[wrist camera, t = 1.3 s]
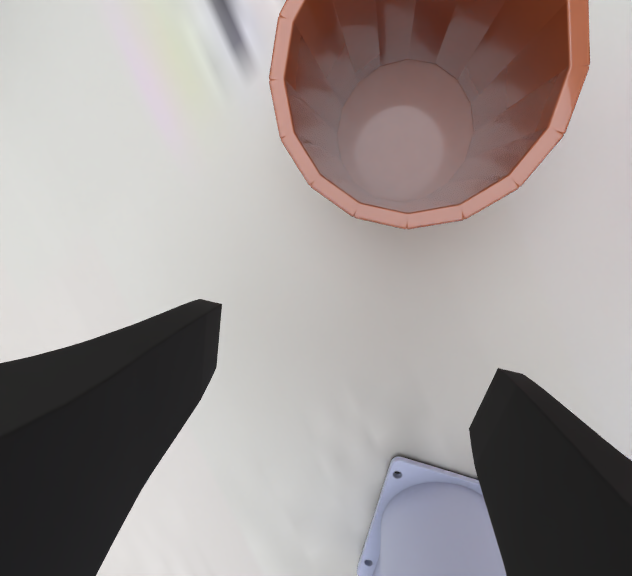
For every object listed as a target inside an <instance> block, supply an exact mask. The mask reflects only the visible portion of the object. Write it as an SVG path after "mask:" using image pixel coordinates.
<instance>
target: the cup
mask: <svg viewBox="0 0 632 576" xmlns="http://www.w3.org/2000/svg"><path fill="white" fill-rule="evenodd" d="M589 64H590V46H589V5H588V0H286V2H285V4H284V6H283V8H282V10H281V12H280V14H279V17H278V22H277V28H276V35H275V42H274V48H273V55H272V61H271V68H270V75H269V80H270V81H269V85H270V90H271V95H272V100H273V105H274V110H275V115H276V120H277V126H278V131H279V136H280V138H281V141H282V143H283V145H284V146H285V148H286V149H287V151H288V153H289V154H290V156H291V157H292V159H293V161H294V162H295V164H296V165H297V167H298V169H299V170H300V172H301V173H302V175H303V177H304V178H305V180H306V181H307V183H308V185H310V186H311V188H313V189H314V190H315V191H317V192H318V193H320V194H321V195H322V196H324V197H325V198H327V199H328V200H329V201H331V202H332V203H334V204H335V205H336V206H338V207H339V208H340V209H342V210H343V211H345V212H346V213H347V214H349V215H350V216H352V217H354V218H357V219H361V220H366V221H370V222H375V223H379V224H384V225H388V226H392V227H397V228H401V229H414V228H420V227H426V226H432V225H438V224H444V223H450V222H456V221H462V220H464V219H467V218H469V217H471V216H472V215H474V214H476V213H478V212H479V211H481V210H483V209H484V208H486V207H488V206H490V205H491V204H493V203H495V202H496V201H498V200H500V199H502V198H503V197H505V196H507V195H509V194H510V193H512V192H514V191H515V190H517V189H518V188H519V187H521V186H522V185H523V183H524V182H525V181H526V180H527V179H528V178H529V176H530V175H531V174H532V173H533V172H534V170H535V169H536V168H537V167H538V166H539V165H540V163H541V162H542V161H543V160H544V159H545V157H546V156H547V155H548V154H549V153H550V151H551V150H552V149H553V148H554V147H555V146H556V144H557V143H558V142H559V141H560V140H561V138H562V137H563V134H564V133H565V132H566V130H567V127H568V124H569V121H570V119H571V116H572V113H573V111H574V108H575V105H576V102H577V100H578V97H579V94H580V92H581V89H582V86H583V83H584V81H585V78H586V75H587V73H588V70H589Z"/></svg>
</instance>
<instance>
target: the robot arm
mask: <svg viewBox="0 0 632 576" xmlns="http://www.w3.org/2000/svg"><path fill="white" fill-rule="evenodd" d="M221 309H222V304H219V303H215V302H210V301H206V300H202V299H198V300H195V301H192V302H189V303H186V304H184V305H181V306H179V307H176V308H174V309H171V310H169V311H166V312H164V313H161V314H159V315H156V316H154V317H151V318H149V319H146V320H144V321H141V322H139V323H136V324H134V325H131V326H128V327H125V328H123V329H120V330H117V331H114V332H111V333H108V334H106V335H103V336H100V337H97V338H94V339H91V340H88V341H85V342H82V343H79V344H75V345H72V346H69V347H65V348H62V349H58V350H54V351H51V352H47V353H43V354H39V355H36V356H32V357H28V358H23V359H19V360H14V361H9V362H4V363H0V576H96V574H97V572H98V570H99V568H100V567H101V565H102V563H103V561H104V559H105V557H106V555H107V553H108V551H109V549H110V547H111V545H112V543H113V541H114V540H115V538H116V536H117V534H118V532H119V530H120V528H121V526H122V525H123V523H124V521H125V519H126V517H127V515H128V513H129V512H130V510H131V508H132V506H133V504H134V502H135V501H136V499H137V497H138V495H139V493H140V491H141V490H142V488H143V487H144V485H145V483H146V482H147V480H148V478H149V477H150V475H151V474H152V472H153V471H154V469H155V468H156V466H157V465H158V463H159V462H160V460H161V459H162V457H163V456H164V454H165V453H166V451H167V450H168V448H169V447H170V445H171V444H172V442H173V441H174V439H175V438H176V436H177V435H178V433H179V432H180V430H181V429H182V427H183V426H184V424H185V423H186V421H187V420H188V418H189V417H190V415H191V414H192V412H193V411H194V409H195V408H196V406H197V404H198V403H199V401H200V400H201V398H202V396H203V394H204V392H205V390H206V388H207V386H208V384H209V382H210V380H211V378H212V376H213V374H214V371H215V369H216V365H217V354H218V343H219V332H220V320H221ZM469 431H470V439H471V446H472V453H473V459H474V465H475V469H476V473H477V476H478V480H476V479H473V478H470V477H466V476H463V475H460V474H456V473H453V472H450V471H447V470H443V469H440V468H437V467H433V466H430V465H427V464H423V463H420V462H417V461H413V460H410V459H407V458H404V457H395V458H393V459H392V461H391V463H390V466H389V469H388V472H387V476H386V479H385V482H384V485H383V488H382V491H381V494H380V498H379V501H378V504H377V507H376V510H375V513H374V516H373V520H372V523H371V526H370V529H369V532H368V535H367V538H366V542H365V545H364V548H363V551H362V554H361V557H360V560H359V564H358V567H357V574H358V576H632V461H631V460H629V459H628V458H627V457H626V456H624V455H623V454H622V453H621V452H619V451H618V450H617V449H616V448H614V447H613V446H612V445H611V444H609V443H608V442H607V441H606V440H604V439H603V438H602V437H601V436H599V435H598V434H597V433H596V432H595V431H593V430H592V429H591V428H590V427H589V426H587V425H586V424H585V423H584V422H582V421H581V420H580V419H579V418H578V417H576V416H575V415H574V414H573V413H572V412H571V411H569V410H568V409H567V408H566V407H564V406H563V405H562V404H561V403H560V402H558V401H557V400H556V399H555V398H554V397H552V396H551V395H550V394H549V393H548V392H546V391H545V390H544V389H543V388H541V387H540V386H539V385H537V384H536V383H535V382H533V381H532V380H531V379H529V378H528V377H526V376H525V375H523V374H520V373H516V372H512V371H508V370H503V369H499V368H498V369H497V371H496V373H495V376H494V378H493V380H492V382H491V384H490V386H489V388H488V390H487V392H486V394H485V396H484V399H483V401H482V403H481V405H480V407H479V409H478V411H477V413H476V415H475V417H474V419H473V421H472V424H471V426H470V428H469ZM395 471H399V472H401V473H400V474H396V473H394V472H395ZM367 559H368V560H367Z"/></svg>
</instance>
